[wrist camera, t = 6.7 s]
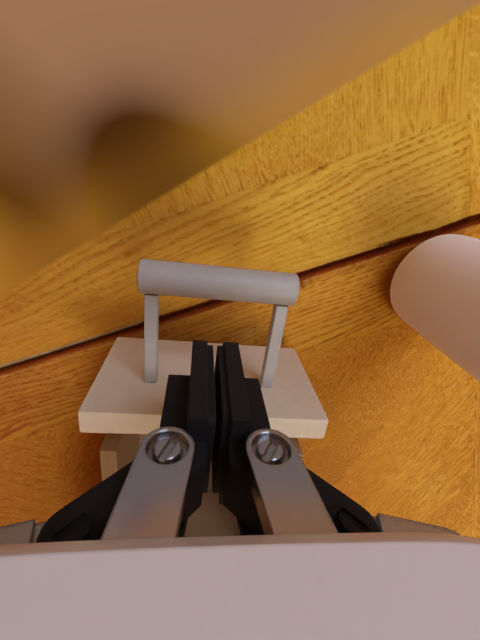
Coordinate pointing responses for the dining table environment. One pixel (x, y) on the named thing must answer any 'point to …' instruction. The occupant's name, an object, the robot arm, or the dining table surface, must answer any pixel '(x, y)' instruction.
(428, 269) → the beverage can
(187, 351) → the drawer
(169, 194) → the dining table surface
